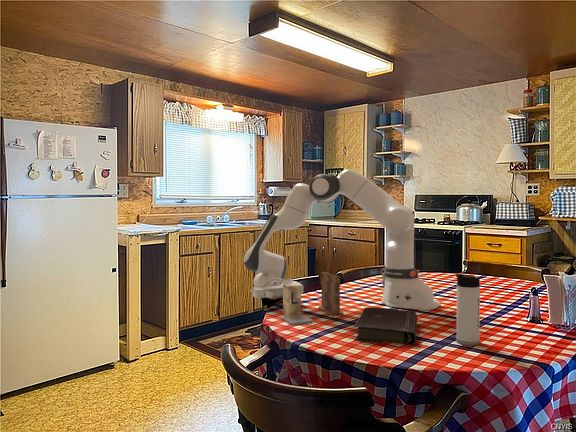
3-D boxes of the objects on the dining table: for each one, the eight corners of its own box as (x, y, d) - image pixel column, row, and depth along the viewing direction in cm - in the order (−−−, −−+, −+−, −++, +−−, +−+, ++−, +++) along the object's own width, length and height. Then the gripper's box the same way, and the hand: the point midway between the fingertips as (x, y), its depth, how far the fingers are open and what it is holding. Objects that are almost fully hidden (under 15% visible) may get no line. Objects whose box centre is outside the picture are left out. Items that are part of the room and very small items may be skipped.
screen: (318, 308, 176) (318, 272, 175) (328, 307, 177) (328, 271, 177) (332, 315, 165) (332, 277, 164) (343, 314, 166) (343, 276, 166)
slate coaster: (303, 317, 164) (303, 314, 164) (313, 322, 156) (313, 320, 156) (282, 319, 161) (282, 317, 161) (291, 325, 153) (291, 322, 153)
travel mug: (451, 339, 136) (451, 272, 136) (473, 338, 137) (473, 272, 136) (461, 346, 130) (461, 276, 129) (483, 345, 131) (484, 275, 130)
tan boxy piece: (295, 312, 171) (295, 282, 170) (301, 315, 166) (301, 285, 165) (283, 313, 169) (283, 284, 168) (288, 316, 164) (288, 286, 164)
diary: (417, 324, 155) (417, 310, 155) (416, 348, 131) (416, 331, 131) (361, 320, 160) (362, 306, 160) (351, 342, 136) (351, 325, 136)
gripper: (248, 282, 184) (258, 288, 171) (295, 278, 191) (308, 283, 178) (248, 297, 184) (258, 305, 171) (295, 293, 191) (308, 300, 178)
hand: (284, 294), depth 175 cm, fingers open, 8 cm apart
